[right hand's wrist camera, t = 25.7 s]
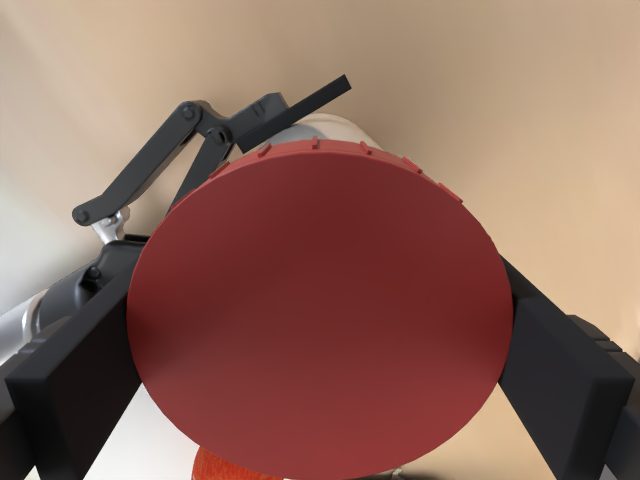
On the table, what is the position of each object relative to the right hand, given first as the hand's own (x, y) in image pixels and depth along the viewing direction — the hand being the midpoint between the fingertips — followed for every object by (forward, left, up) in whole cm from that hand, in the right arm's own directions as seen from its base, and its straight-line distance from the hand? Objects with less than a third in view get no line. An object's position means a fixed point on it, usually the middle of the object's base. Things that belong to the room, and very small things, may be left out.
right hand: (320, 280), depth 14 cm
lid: (0, 0, +3) cm, 3 cm away
